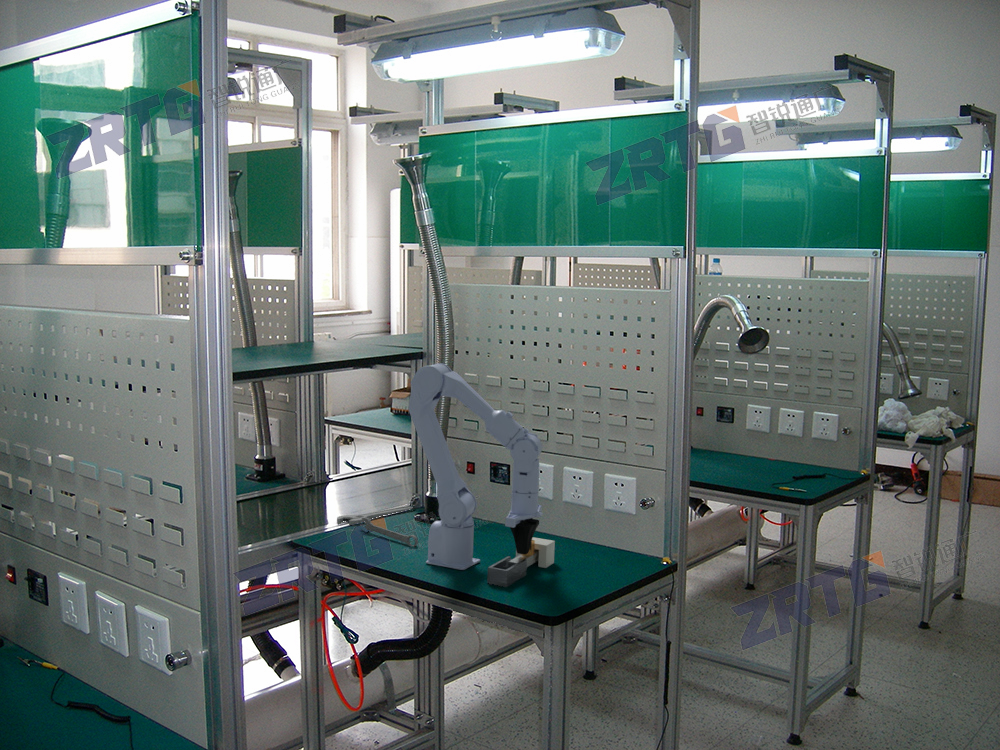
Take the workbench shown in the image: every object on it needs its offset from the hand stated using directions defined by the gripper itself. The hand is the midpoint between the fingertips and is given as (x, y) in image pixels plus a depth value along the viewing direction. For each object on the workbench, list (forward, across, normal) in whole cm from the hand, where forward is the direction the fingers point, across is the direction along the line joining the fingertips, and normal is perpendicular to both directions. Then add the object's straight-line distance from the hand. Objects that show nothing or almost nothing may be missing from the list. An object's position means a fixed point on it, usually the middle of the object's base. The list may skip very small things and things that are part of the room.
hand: (522, 553), depth 197 cm
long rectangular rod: (+3, +1, 0) cm, 3 cm away
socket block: (+4, +7, 0) cm, 8 cm away
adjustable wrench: (+4, +22, +51) cm, 55 cm away
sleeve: (+4, -7, 0) cm, 8 cm away
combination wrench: (+4, +6, +38) cm, 39 cm away
